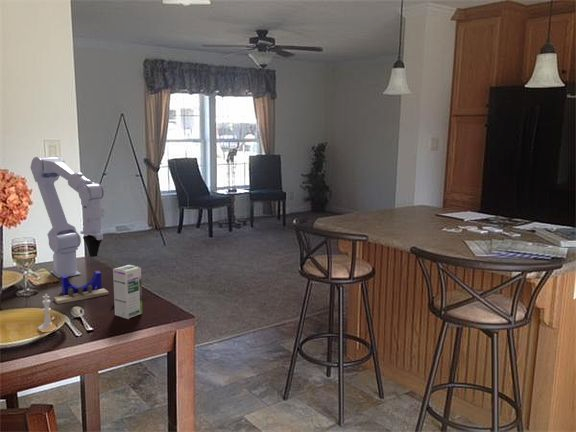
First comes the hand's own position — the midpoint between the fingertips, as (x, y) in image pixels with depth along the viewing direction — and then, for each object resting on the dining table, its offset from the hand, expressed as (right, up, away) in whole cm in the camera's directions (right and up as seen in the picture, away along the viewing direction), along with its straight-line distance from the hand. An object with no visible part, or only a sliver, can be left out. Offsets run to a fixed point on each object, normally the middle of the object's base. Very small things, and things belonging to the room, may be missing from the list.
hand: (93, 256), depth 181 cm
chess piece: (+3, -17, -41) cm, 44 cm away
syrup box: (+21, -15, -28) cm, 38 cm away
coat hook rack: (+2, -12, -15) cm, 19 cm away
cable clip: (0, -12, -9) cm, 14 cm away
